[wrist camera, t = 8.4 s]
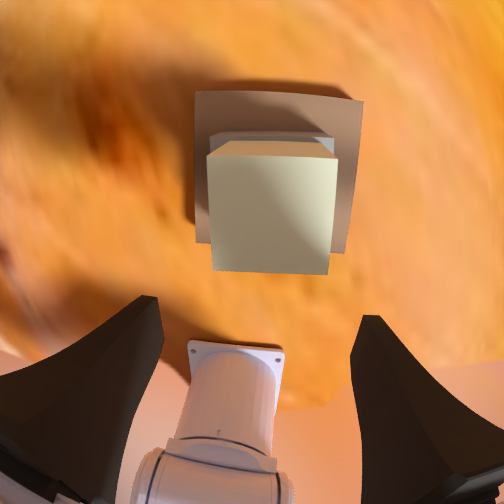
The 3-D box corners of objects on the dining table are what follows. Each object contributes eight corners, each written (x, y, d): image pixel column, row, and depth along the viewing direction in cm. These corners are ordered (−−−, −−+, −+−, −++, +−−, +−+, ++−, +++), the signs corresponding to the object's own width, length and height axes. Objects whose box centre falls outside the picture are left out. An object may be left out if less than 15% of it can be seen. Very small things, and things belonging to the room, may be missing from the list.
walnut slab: (337, 237, 21) (344, 253, 18) (205, 227, 21) (195, 242, 19) (353, 102, 17) (363, 101, 14) (205, 92, 17) (194, 91, 15)
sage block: (316, 226, 15) (327, 275, 11) (232, 224, 15) (212, 270, 11) (320, 142, 13) (338, 158, 9) (230, 140, 13) (206, 155, 9)
